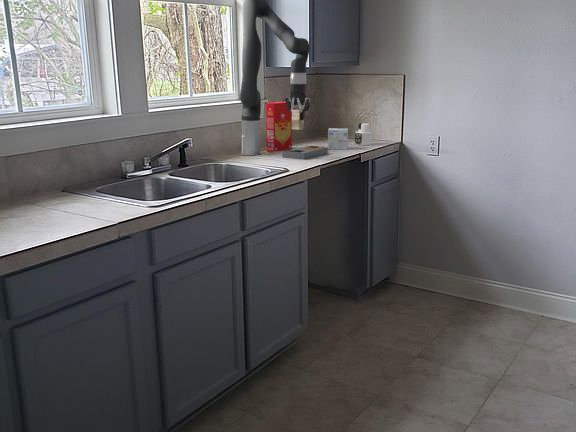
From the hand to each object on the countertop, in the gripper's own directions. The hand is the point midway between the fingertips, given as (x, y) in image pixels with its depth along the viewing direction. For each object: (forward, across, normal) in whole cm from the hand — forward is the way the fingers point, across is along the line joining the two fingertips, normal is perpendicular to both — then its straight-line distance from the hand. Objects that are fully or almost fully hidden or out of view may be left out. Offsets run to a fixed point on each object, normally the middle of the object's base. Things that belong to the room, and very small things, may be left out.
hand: (297, 119), depth 277 cm
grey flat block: (+19, 0, -7) cm, 20 cm away
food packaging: (+19, +24, -18) cm, 36 cm away
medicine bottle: (+19, -3, -62) cm, 65 cm away
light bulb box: (+19, +1, -41) cm, 45 cm away
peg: (+4, 0, 0) cm, 4 cm away
